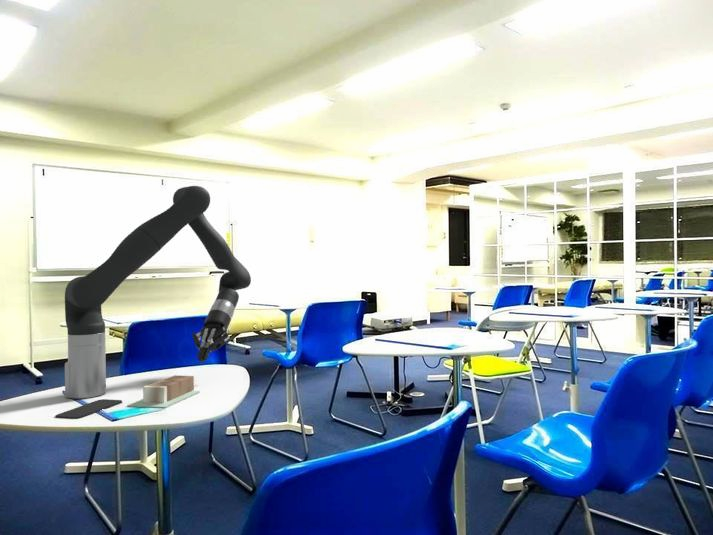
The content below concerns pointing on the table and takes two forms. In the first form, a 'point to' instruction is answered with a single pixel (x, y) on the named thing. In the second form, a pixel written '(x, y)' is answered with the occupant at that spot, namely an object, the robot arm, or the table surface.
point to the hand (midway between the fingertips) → (200, 360)
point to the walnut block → (168, 389)
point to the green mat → (163, 405)
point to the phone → (88, 409)
